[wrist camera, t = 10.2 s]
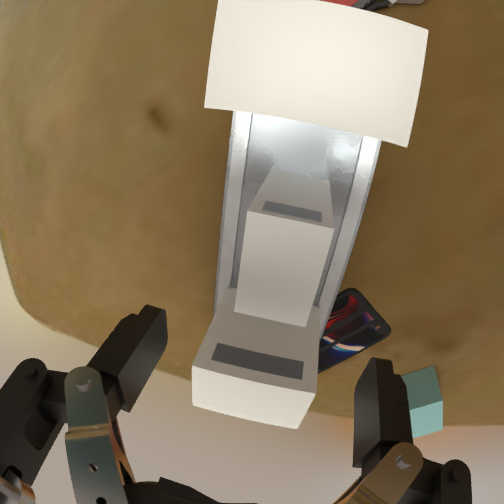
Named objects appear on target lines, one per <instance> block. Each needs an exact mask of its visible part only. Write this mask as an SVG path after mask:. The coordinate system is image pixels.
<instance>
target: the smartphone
mask: <svg viewBox="0 0 504 504" xmlns="http://www.w3.org/2000/svg"><path fill="white" fill-rule="evenodd" d="M390 332H391V328H390V326H389V325H388V324H386V323H385V321H384V319H383V318H382V317H381V316H380V315H379V314H378V313H377V312H376V311H375V310H374V308H373V307H372V305H371V304H370V303H369V302H368V301H367V300H366V299H365V297H364V296H363V295H362V294H361V293H360V292H359V291H358V290H357V289H354V288H349V289H346V290H344V291H343V292H341V293H339V294H338V295H337V296H336V299H335V302H334V305H333V307H332V310H331V313H330V316H329V318H328V321H327V324H326V326H325V329H324V332H323V334H322V337H321V340H320V342H319V356H318V372H317V374H318V373H320V372H322V371H324V370H327V369H329V368H331V367H333V366H335V365H337V364H339V363H340V362H342V361H344V360H346V359H348V358H350V357H352V356H354V355H356V354H358V353H360V352H361V351H363V350H365V349H367V348H369V347H371V346H372V345H374V344H376V343H378V342H379V341H381V340H383V339H385V338H386V337H388V336H389V334H390Z"/></svg>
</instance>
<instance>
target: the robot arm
mask: <svg viewBox="0 0 504 504" xmlns="http://www.w3.org/2000/svg"><path fill="white" fill-rule="evenodd" d="M167 339H168V334H167V320H166V311H165V310H164V309H161V308H158V307H154V306H151V305H145V306H144V307H143V309H142V310H141V311H140V313H139V314H138V315H136V314H133V313H132V314H130V315H128V316H127V317H125V318H123V319H122V320H121V321H120V322H119V323H118V325H117V326H116V327H115V329H114V331H112V332H111V334H110V335H109V338H107V339H106V340H105V342H104V343H103V344H102V346H101V347H100V348H99V350H98V351H97V352H96V354H95V355H94V356H93V358H92V359H91V360H90V362H89V363H88V364H87V365H86V366H83V367H78V368H75V369H73V370H72V371H70V372H69V373H66V372H59V371H52V370H47V368H46V366H45V364H44V363H43V362H42V361H41V360H39V359H35V358H29V359H26V360H24V361H22V362H21V363H20V364H19V365H18V366H17V367H16V369H15V370H14V371H13V373H12V374H11V375H10V377H9V378H8V380H7V381H6V382H5V384H4V385H3V387H2V388H1V389H0V504H35V495H34V491H33V489H32V488H31V486H32V484H33V482H34V480H35V478H36V476H37V474H38V472H39V470H40V468H41V466H42V464H43V462H44V460H45V458H46V457H47V455H48V453H49V451H50V449H51V447H52V445H53V443H54V441H55V440H56V438H57V436H58V434H59V432H60V430H61V429H62V427H63V425H64V423H68V429H69V430H68V432H67V433H66V434H65V444H66V451H67V458H68V464H69V469H70V475H71V480H72V484H73V489H74V494H75V498H76V502H77V504H256V503H220V502H217V501H215V500H213V499H211V498H210V497H207V496H206V495H204V494H202V493H200V492H199V491H197V490H195V489H193V488H191V487H189V486H186V485H183V484H180V483H177V482H174V481H171V480H168V479H165V478H162V477H160V479H159V482H149V481H148V482H147V481H146V482H137V483H136V481H135V478H134V475H133V472H132V469H131V467H130V464H129V462H128V459H127V456H126V452H125V449H124V445H123V441H122V437H121V433H120V429H119V425H118V420H117V417H116V416H117V415H118V413H119V411H120V409H122V410H124V411H127V412H130V411H131V409H132V407H133V405H134V404H135V402H136V400H137V398H138V396H139V395H140V393H141V391H142V389H143V388H144V386H145V384H146V382H147V380H148V379H149V377H150V375H151V373H152V371H153V370H154V368H155V366H156V364H157V363H158V361H159V359H160V357H161V356H162V354H163V352H164V350H165V348H166V345H167ZM407 398H408V394H407V387H406V384H405V383H404V381H403V379H402V377H401V376H400V375H397V374H394V372H393V365H392V361H391V360H387V359H381V358H374V357H372V358H371V359H370V361H369V363H368V364H367V366H366V368H365V370H364V371H363V373H362V375H361V377H360V378H359V380H358V382H357V385H356V388H355V393H354V445H353V467H356V468H362V474H361V476H360V477H359V478H358V479H357V480H356V481H355V482H354V483H353V484H352V485H351V486H350V487H349V488H348V489H347V490H346V491H345V492H344V493H343V494H342V495H341V496H340V497H339V498H338V499H337V500H336V501H335V502H334V503H333V504H472V490H471V475H470V470H469V468H468V466H467V465H466V464H465V463H464V462H462V461H460V460H456V459H455V460H450V461H448V462H447V463H446V464H444V465H443V464H439V463H436V462H433V461H430V460H428V459H425V458H424V457H423V456H422V453H421V451H420V450H419V449H418V448H417V447H416V446H415V445H414V444H413V437H412V427H411V418H410V409H409V401H408V399H407Z"/></svg>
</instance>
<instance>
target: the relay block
mask: <svg viewBox="0 0 504 504" xmlns="http://www.w3.org/2000/svg"><path fill="white" fill-rule="evenodd" d="M401 377H402V379H403V381H404V383H405V384H406V387H407V394H408V398H407V399H408V401H409V409H410V418H411V427H412V437H413V438H415V437H419V436H423V435H426V434H430V433H433V432H437V431H440V430H442V424H443V404H442V396H441V392H440V388H439V384H438V380H437V376H436V372H435V368H434V366H431V367H428V368H425V369H422V370H419V371H416V372H412V373H409V374H405V375H402V376H401Z"/></svg>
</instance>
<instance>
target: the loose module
mask: <svg viewBox="0 0 504 504" xmlns="http://www.w3.org/2000/svg"><path fill="white" fill-rule="evenodd" d="M333 233H334V219H333V210H332V201H331V193H330V185H329V180H324V179H320V178H315V177H310V176H306V175H301V174H296V173H291V172H286V171H281V170H275V169H271V170H270V172H269V174H268V176H267V177H266V179H265V181H264V182H263V184H262V186H261V188H260V189H259V191H258V193H257V195H256V197H255V198H254V200H253V202H252V204H251V205H250V207H249V209H248V211H247V217H246V225H245V232H244V240H243V247H242V255H241V262H240V270H239V278H238V286H237V293H236V301H235V309H234V312H238V313H242V314H246V315H251V316H255V317H260V318H264V319H269V320H273V321H278V322H283V323H288V324H292V325H297V326H302V327H306V324H307V320H308V317H309V314H310V311H311V308H312V305H313V302H314V298H315V295H316V292H317V289H318V285H319V282H320V279H321V275H322V272H323V268H324V265H325V261H326V258H327V254H328V251H329V247H330V244H331V240H332V236H333Z"/></svg>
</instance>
